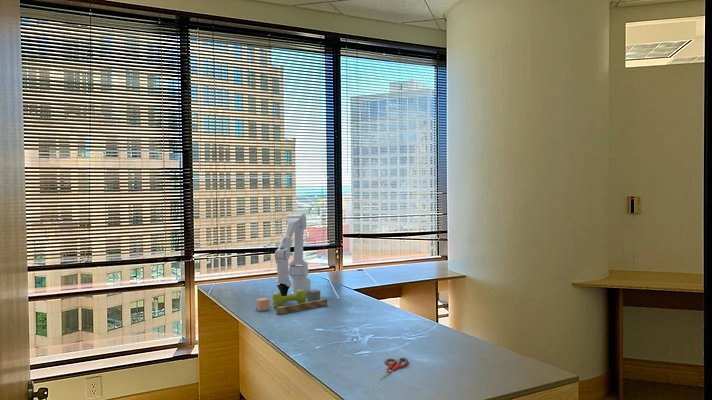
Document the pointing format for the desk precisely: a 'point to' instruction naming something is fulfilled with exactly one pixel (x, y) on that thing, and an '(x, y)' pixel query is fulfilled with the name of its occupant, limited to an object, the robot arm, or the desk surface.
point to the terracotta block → (262, 304)
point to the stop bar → (301, 306)
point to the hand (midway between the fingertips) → (284, 298)
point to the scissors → (394, 366)
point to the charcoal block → (313, 295)
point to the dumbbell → (288, 298)
